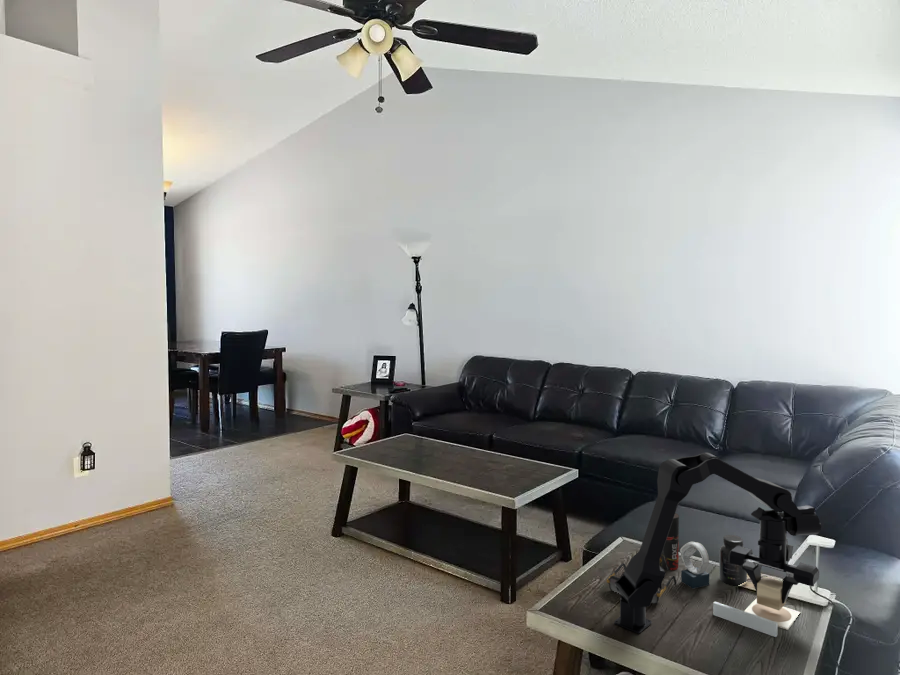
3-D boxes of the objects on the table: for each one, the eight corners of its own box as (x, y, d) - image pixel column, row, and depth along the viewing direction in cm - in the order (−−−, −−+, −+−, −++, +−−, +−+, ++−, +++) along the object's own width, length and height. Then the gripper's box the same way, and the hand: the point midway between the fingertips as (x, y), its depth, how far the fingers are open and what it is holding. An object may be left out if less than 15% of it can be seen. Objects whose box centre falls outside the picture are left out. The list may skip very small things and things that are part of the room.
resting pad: (787, 630, 139) (787, 628, 138) (742, 614, 146) (742, 612, 146) (800, 613, 146) (800, 611, 146) (756, 599, 153) (756, 597, 153)
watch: (692, 575, 167) (692, 536, 166) (714, 587, 159) (714, 547, 158) (675, 578, 165) (676, 539, 164) (697, 591, 157) (697, 550, 156)
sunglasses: (676, 585, 162) (676, 567, 161) (658, 609, 149) (658, 589, 149) (625, 572, 170) (625, 554, 170) (605, 593, 158) (605, 575, 157)
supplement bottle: (720, 573, 167) (721, 531, 166) (748, 579, 164) (748, 536, 163) (717, 583, 161) (718, 540, 161) (745, 589, 158) (746, 545, 157)
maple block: (779, 610, 142) (779, 590, 142) (756, 603, 145) (757, 583, 145) (786, 602, 145) (786, 582, 145) (763, 595, 149) (764, 576, 149)
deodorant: (663, 559, 177) (663, 509, 176) (682, 566, 172) (683, 515, 171) (652, 565, 173) (652, 514, 172) (671, 572, 168) (671, 520, 167)
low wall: (775, 637, 136) (776, 624, 136) (713, 614, 146) (713, 602, 145) (777, 635, 136) (777, 622, 136) (714, 613, 146) (714, 601, 146)
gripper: (826, 536, 143) (824, 600, 144) (744, 517, 157) (743, 575, 158) (813, 551, 136) (811, 618, 137) (727, 529, 149) (726, 590, 150)
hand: (771, 599), depth 145 cm, fingers closed on maple block, 5 cm apart
